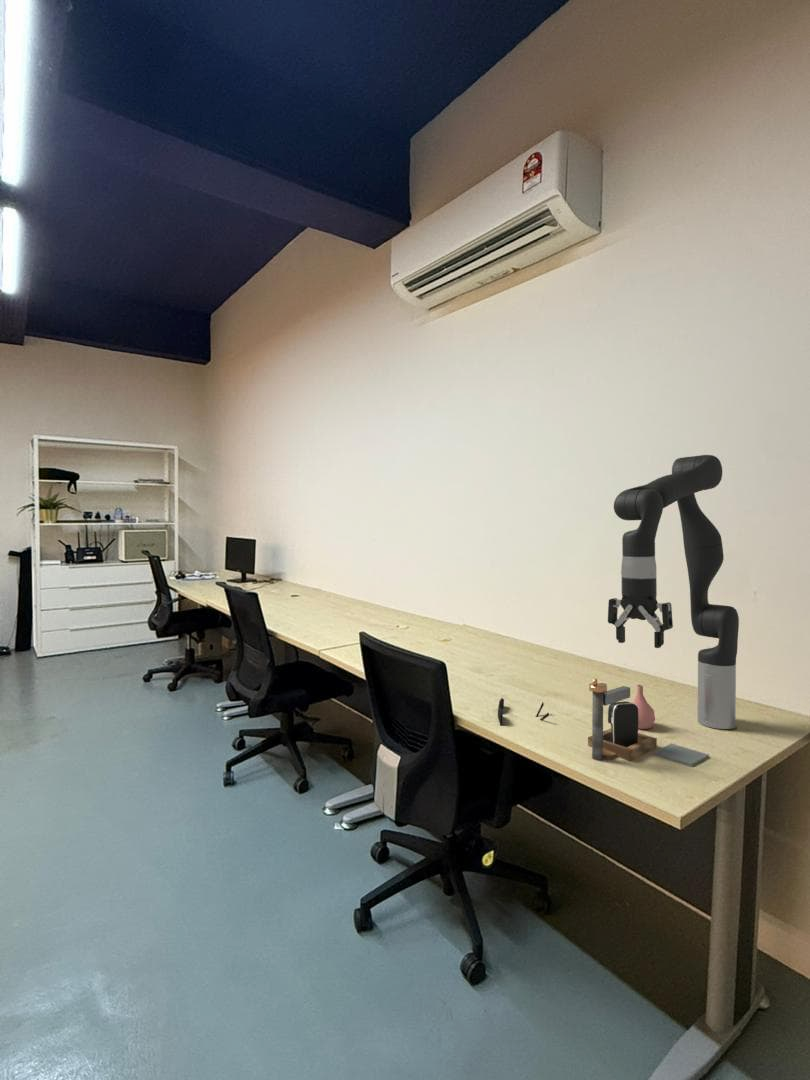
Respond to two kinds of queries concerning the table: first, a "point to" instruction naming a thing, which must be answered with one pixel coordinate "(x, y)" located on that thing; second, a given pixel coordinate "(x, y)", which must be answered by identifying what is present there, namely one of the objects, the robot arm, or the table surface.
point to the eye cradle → (601, 738)
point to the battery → (623, 723)
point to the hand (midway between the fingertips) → (639, 645)
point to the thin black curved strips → (501, 705)
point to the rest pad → (681, 754)
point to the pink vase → (643, 710)
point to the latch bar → (610, 692)
